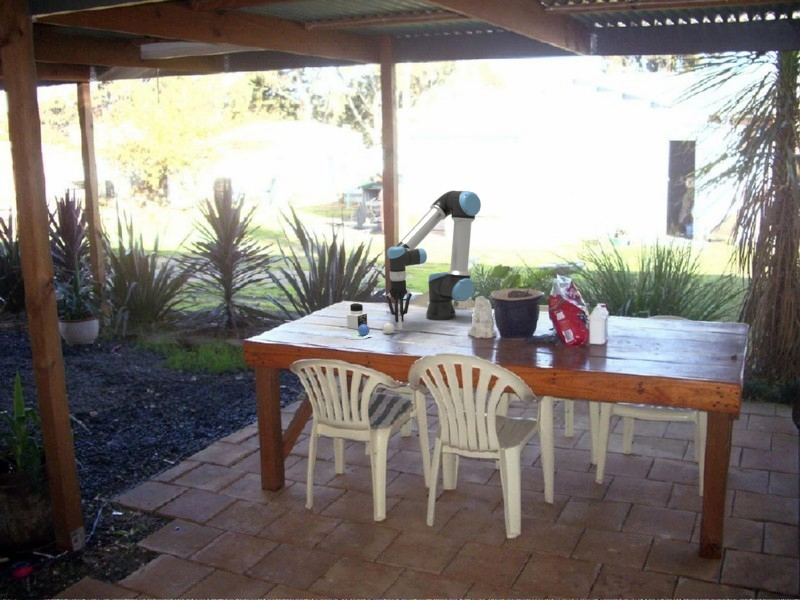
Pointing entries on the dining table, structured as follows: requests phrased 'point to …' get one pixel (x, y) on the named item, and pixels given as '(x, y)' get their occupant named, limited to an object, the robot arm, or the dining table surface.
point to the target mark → (357, 335)
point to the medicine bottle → (356, 316)
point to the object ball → (363, 330)
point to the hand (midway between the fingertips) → (399, 328)
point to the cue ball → (388, 328)
